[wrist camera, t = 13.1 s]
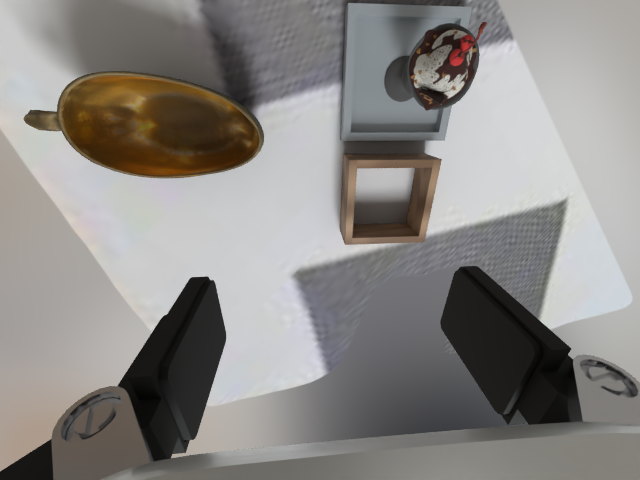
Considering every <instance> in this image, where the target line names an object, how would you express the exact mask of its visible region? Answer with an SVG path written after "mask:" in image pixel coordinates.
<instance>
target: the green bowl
mask: <svg viewBox="0 0 640 480" xmlns="http://www.w3.org/2000/svg"><path fill="white" fill-rule="evenodd" d="M57 106H58V107H57V112H52V111H41V110H30V111H29V113H28V114H27V115H26V116H25V117H24V121H25V122H26V123H27V124H28V125H30V126H32V127H34V128H36V129H38V130H46V131H62V132H63V135H64V136H65V138H66V140H67V141H68V142H69V144H70V145H71V146H72V147H73V148H74V149H75V150H76V151H77V152H78V153H80V154H81V155H82V156H84V157H85V158H87V159H88V160H90V161H91V162H93V163H95V164H98V165H100V166H102V167H105V168H108V169H111V170H114V171H117V172H121V173H124V174H128V175H134V176H140V177H148V178H184V177H193V176H200V175H207V174H213V173H218V172H224V171H227V170H231V169H234V168H237V167H240V166H242V165H244V164H246V163H248V162H249V161H251V160H252V159H253V158H254V157H255V156H256V155H257V154H258V153H259V152H260V150H261V148H262V146H263V142H264V133H263V130H262V127H261V125H260V122H259V121H258V120H257V118H256V117H255V116H254V115H253V114H252V113H251V112H250V111H249V110H248V109H247V108H245V107H244V106H243V105H241V104H239V103H238V102H237V101H235V100H233V99H231V98H229V97H228V96H226V95H224V94H222V93H220V92H217V91H215V90H212V89H209V88H206V87H203V86H200V85H197V84H194V83H190V82H187V81H183V80H180V79H175V78H171V77H165V76H159V75H154V74H147V73H138V72H126V71H106V72H97V73H92V74H87V75H84V76H82V77H79V78H77V79H75V80H74V81H72V82H71V83H70V84H68V85H67V87H66V88H65V89H64V90H63V92H62V94H61V96H60V98H59V101H58V105H57Z"/></svg>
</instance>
